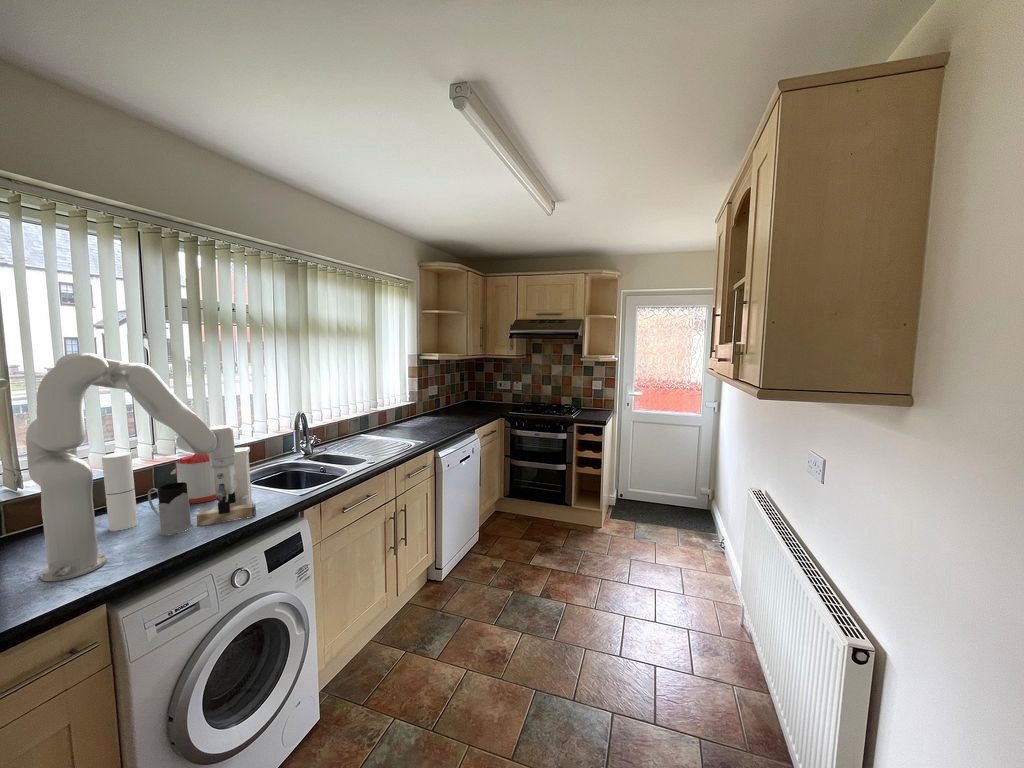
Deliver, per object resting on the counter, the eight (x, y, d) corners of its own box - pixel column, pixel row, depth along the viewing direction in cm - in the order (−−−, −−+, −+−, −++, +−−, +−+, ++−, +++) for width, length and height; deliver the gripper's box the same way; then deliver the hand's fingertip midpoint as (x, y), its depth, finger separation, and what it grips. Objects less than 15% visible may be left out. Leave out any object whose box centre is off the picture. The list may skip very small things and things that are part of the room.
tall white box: (248, 509, 155) (244, 453, 153) (218, 513, 152) (214, 456, 150) (253, 500, 165) (249, 446, 163) (225, 503, 161) (221, 449, 159)
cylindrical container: (120, 532, 137) (112, 458, 135) (103, 530, 139) (95, 457, 136) (143, 523, 144) (136, 452, 142) (127, 521, 146) (120, 451, 143)
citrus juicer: (179, 496, 170) (175, 448, 168) (230, 489, 177) (226, 443, 175) (167, 509, 156) (162, 457, 154) (222, 502, 163) (218, 452, 161)
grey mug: (174, 536, 134) (170, 491, 133) (138, 533, 136) (133, 488, 135) (199, 524, 143) (195, 482, 141) (164, 522, 145) (160, 480, 144)
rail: (197, 526, 141) (196, 515, 141) (200, 522, 145) (199, 511, 145) (254, 517, 149) (253, 506, 148) (256, 513, 152) (255, 503, 152)
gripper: (230, 466, 139) (235, 515, 141) (240, 453, 154) (244, 497, 156) (203, 469, 136) (208, 519, 138) (216, 456, 151) (220, 501, 153)
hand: (227, 508), depth 147 cm, fingers open, 9 cm apart
